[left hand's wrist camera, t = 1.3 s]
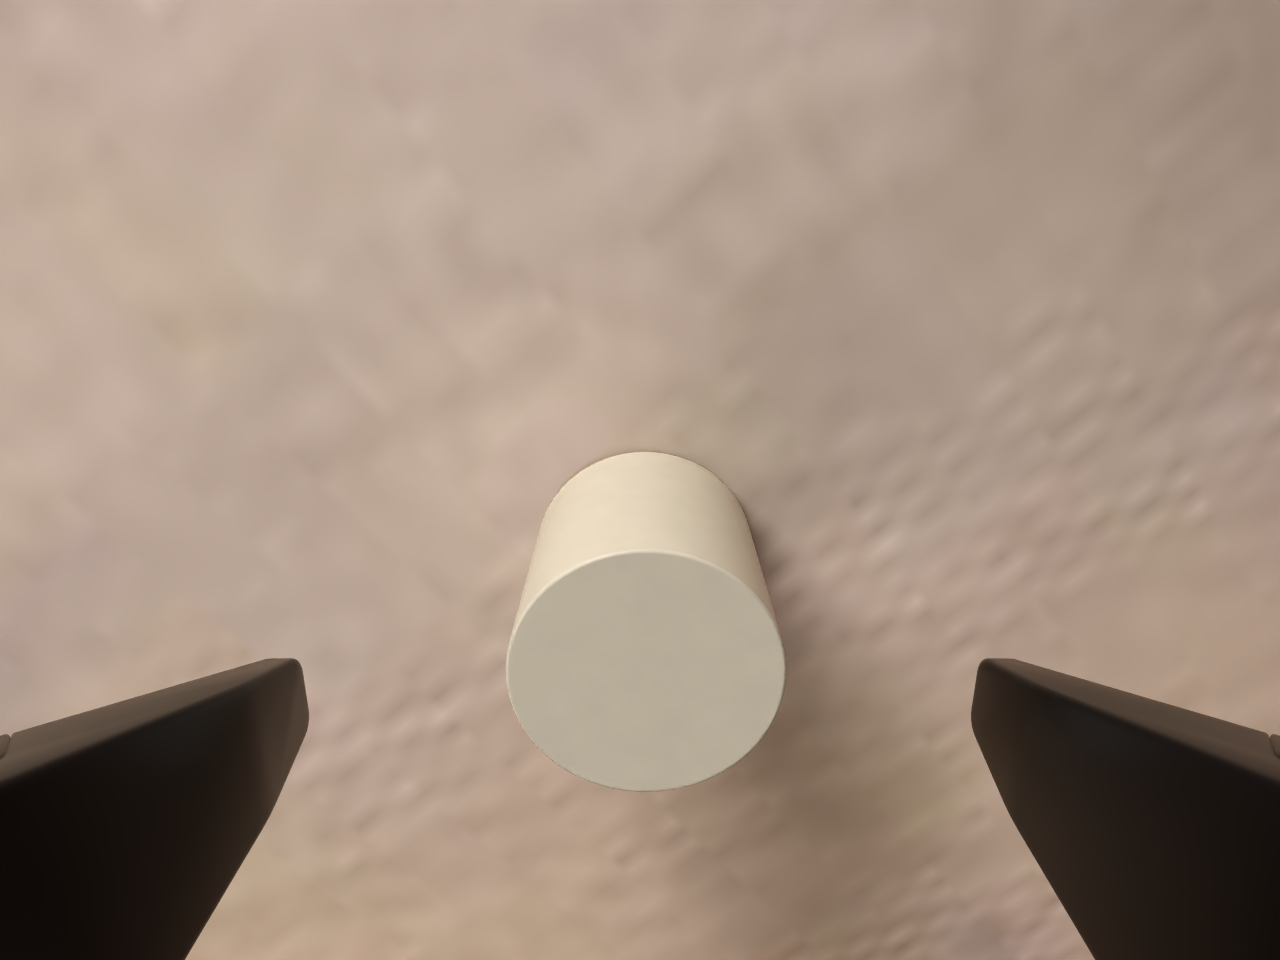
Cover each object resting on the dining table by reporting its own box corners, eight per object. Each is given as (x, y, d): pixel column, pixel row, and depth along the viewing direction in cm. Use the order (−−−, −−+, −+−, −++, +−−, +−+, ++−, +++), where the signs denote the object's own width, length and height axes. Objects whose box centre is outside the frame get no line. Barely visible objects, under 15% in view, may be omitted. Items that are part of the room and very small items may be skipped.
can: (675, 679, 17) (685, 834, 13) (499, 581, 16) (454, 715, 12) (793, 522, 16) (844, 641, 12) (610, 409, 15) (600, 496, 11)
